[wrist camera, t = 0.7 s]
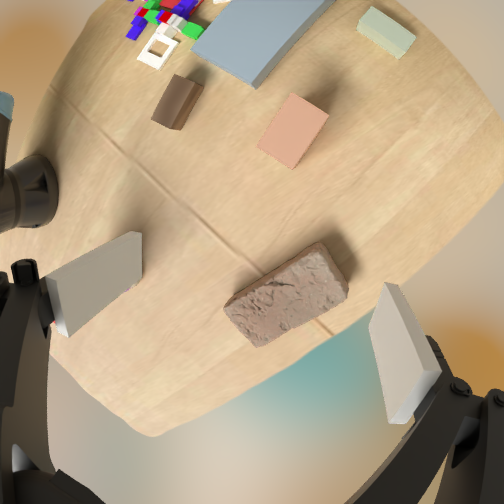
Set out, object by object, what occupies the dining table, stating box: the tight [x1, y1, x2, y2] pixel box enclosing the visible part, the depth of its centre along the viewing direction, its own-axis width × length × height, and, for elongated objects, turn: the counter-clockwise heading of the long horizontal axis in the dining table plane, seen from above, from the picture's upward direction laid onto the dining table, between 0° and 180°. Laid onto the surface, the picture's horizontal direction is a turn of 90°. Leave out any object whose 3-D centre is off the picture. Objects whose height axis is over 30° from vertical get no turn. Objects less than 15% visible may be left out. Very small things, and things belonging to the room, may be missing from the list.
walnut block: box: [151, 74, 204, 130], centre depth 34 cm, size 4×7×4 cm, turn 150°
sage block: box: [356, 6, 417, 60], centre depth 25 cm, size 4×7×4 cm, turn 55°
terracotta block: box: [256, 92, 329, 170], centre depth 31 cm, size 4×7×8 cm, turn 148°
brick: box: [223, 242, 349, 348], centre depth 40 cm, size 17×8×5 cm, turn 128°
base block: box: [190, 0, 336, 89], centre depth 28 cm, size 10×20×4 cm, turn 143°
